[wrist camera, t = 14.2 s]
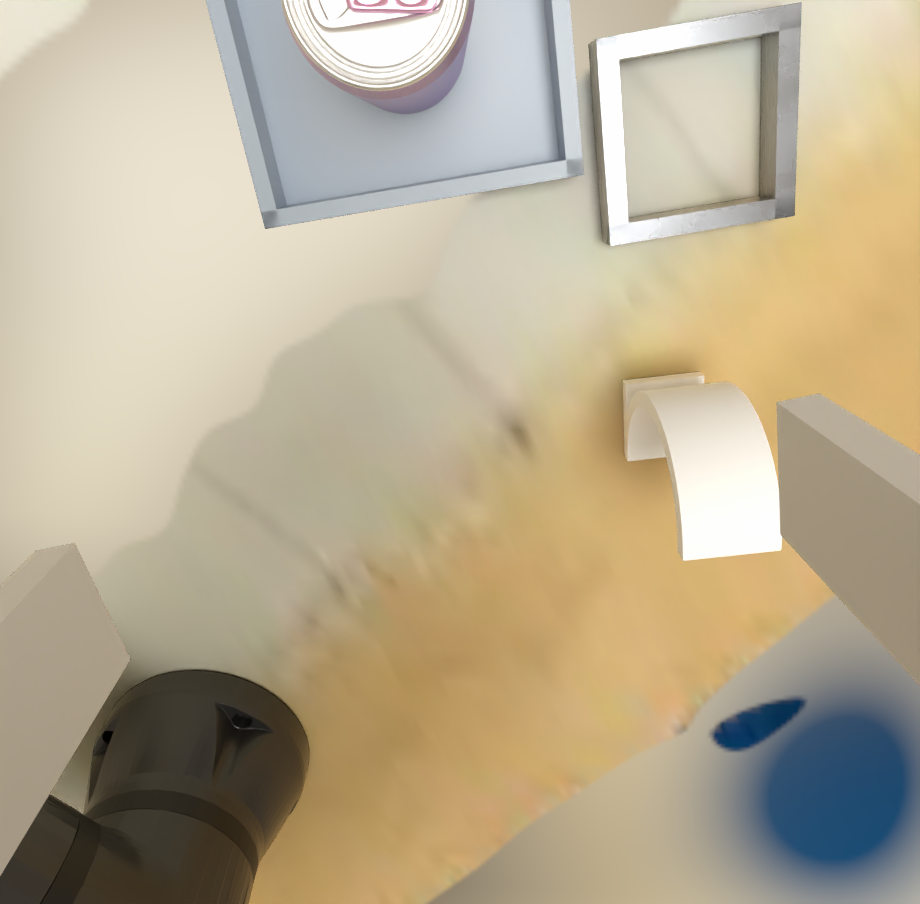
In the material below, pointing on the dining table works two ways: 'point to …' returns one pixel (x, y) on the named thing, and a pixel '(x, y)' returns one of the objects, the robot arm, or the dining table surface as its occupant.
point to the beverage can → (384, 47)
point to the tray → (401, 116)
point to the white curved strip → (707, 462)
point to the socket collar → (775, 127)
